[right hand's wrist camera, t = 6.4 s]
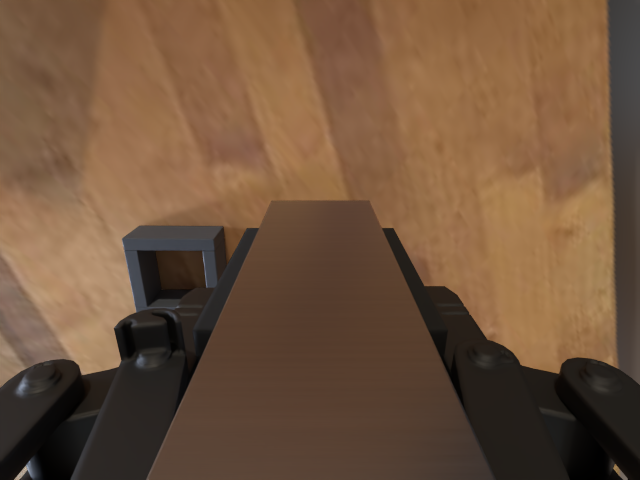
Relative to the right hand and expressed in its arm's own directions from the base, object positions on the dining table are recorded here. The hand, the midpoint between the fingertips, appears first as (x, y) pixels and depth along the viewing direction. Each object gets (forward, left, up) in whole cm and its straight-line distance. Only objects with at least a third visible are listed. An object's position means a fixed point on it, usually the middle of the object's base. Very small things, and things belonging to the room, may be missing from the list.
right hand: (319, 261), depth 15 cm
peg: (0, 0, -2) cm, 2 cm away
